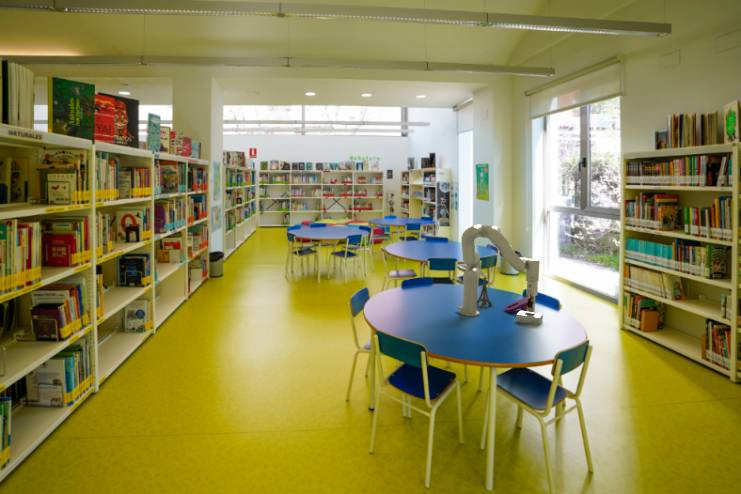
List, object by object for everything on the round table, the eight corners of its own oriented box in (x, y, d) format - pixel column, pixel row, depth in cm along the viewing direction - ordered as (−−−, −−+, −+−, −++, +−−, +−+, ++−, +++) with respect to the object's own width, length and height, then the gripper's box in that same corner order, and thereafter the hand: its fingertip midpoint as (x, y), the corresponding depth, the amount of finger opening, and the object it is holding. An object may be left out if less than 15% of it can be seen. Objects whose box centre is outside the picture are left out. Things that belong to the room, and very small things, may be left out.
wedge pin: (526, 311, 285) (527, 296, 284) (528, 309, 288) (528, 294, 287) (532, 312, 283) (533, 297, 281) (534, 310, 286) (535, 295, 285)
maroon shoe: (511, 321, 305) (536, 311, 304) (507, 311, 304) (531, 300, 303) (507, 317, 314) (531, 307, 313) (502, 307, 313) (526, 296, 312)
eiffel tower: (473, 304, 325) (474, 270, 321) (484, 302, 330) (486, 269, 326) (482, 308, 316) (484, 273, 312) (494, 306, 320) (496, 272, 316)
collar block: (516, 321, 286) (516, 314, 286) (520, 317, 295) (520, 310, 294) (538, 325, 279) (539, 318, 278) (542, 321, 287) (543, 314, 286)
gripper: (535, 281, 274) (533, 310, 276) (541, 276, 287) (539, 304, 290) (522, 280, 278) (521, 308, 280) (529, 275, 291) (528, 302, 294)
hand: (530, 306), depth 285 cm, fingers closed on wedge pin, 4 cm apart
